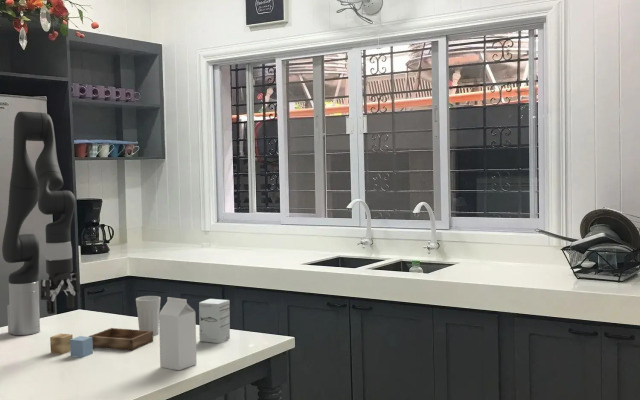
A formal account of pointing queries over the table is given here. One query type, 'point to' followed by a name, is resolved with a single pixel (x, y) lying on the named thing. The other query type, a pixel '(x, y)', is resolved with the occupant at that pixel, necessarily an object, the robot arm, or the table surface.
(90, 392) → the table surface
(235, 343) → the table surface
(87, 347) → the slate block
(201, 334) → the supplement box
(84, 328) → the table surface
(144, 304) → the cup
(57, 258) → the robot arm
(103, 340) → the tray
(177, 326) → the milk carton
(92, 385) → the table surface
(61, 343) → the oak block
